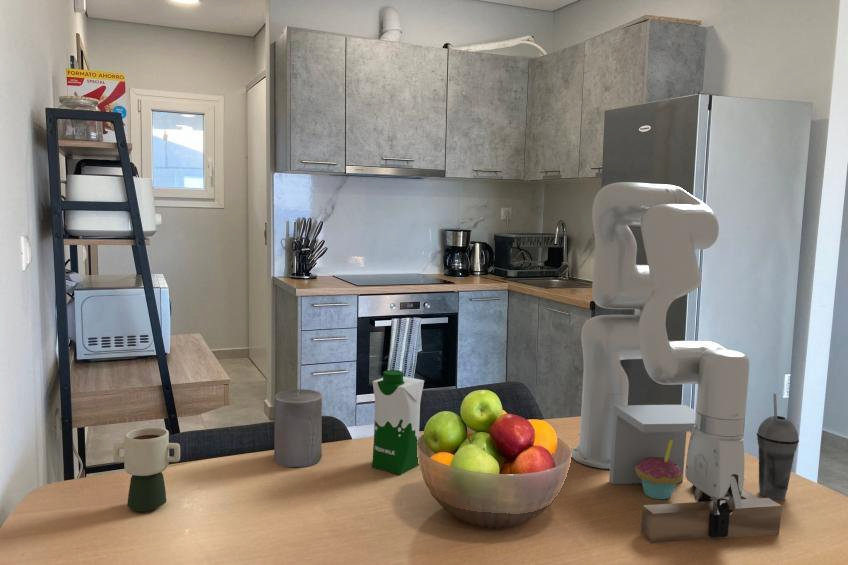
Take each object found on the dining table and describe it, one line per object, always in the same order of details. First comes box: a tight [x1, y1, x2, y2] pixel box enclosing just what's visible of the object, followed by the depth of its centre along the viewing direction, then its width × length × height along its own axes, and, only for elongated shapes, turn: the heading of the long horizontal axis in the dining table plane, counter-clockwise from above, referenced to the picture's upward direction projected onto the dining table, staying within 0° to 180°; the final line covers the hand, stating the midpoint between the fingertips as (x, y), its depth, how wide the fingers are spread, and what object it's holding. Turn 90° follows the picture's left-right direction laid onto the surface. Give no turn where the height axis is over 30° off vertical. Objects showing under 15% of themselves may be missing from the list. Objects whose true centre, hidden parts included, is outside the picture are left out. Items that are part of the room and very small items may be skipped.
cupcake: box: [635, 436, 684, 500], centre depth 131 cm, size 9×8×12 cm
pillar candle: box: [273, 388, 323, 468], centre depth 142 cm, size 10×10×15 cm
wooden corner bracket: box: [640, 488, 783, 544], centre depth 124 cm, size 21×24×5 cm
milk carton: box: [371, 369, 425, 476], centre depth 140 cm, size 9×9×20 cm
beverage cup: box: [756, 393, 800, 501], centre depth 132 cm, size 7×7×20 cm
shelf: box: [608, 404, 696, 485], centre depth 132 cm, size 12×15×16 cm
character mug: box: [112, 426, 181, 512], centre depth 117 cm, size 11×7×13 cm, turn 97°
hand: (710, 529), depth 115 cm, fingers closed on wooden corner bracket, 3 cm apart
